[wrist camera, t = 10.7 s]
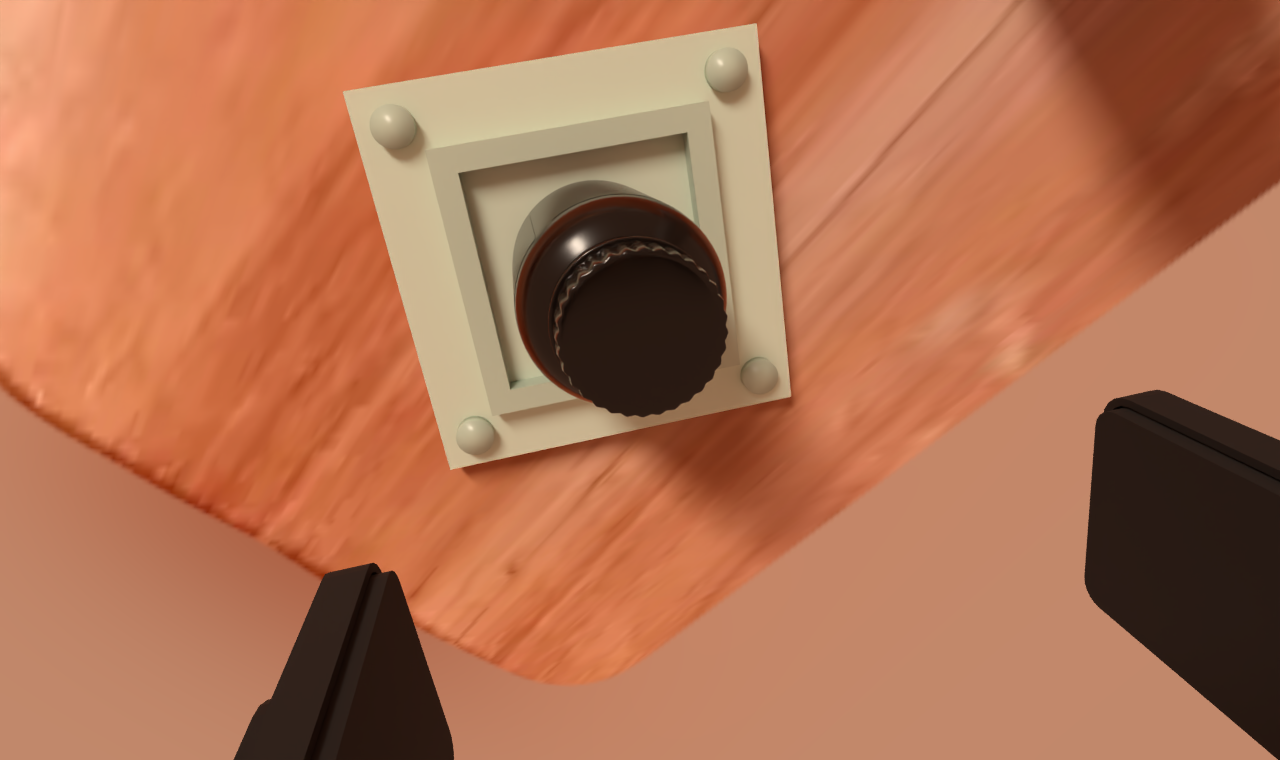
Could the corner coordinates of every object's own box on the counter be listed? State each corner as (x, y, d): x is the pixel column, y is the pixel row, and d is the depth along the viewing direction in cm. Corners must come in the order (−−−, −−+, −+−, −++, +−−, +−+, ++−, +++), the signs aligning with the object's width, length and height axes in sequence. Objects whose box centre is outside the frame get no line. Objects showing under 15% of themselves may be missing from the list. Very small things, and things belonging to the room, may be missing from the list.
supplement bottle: (651, 353, 33) (723, 474, 21) (497, 321, 31) (488, 434, 20) (693, 198, 31) (796, 243, 19) (531, 157, 29) (542, 179, 18)
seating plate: (747, 26, 30) (764, 20, 28) (782, 388, 35) (798, 404, 33) (349, 92, 28) (336, 90, 26) (452, 458, 34) (448, 479, 32)
